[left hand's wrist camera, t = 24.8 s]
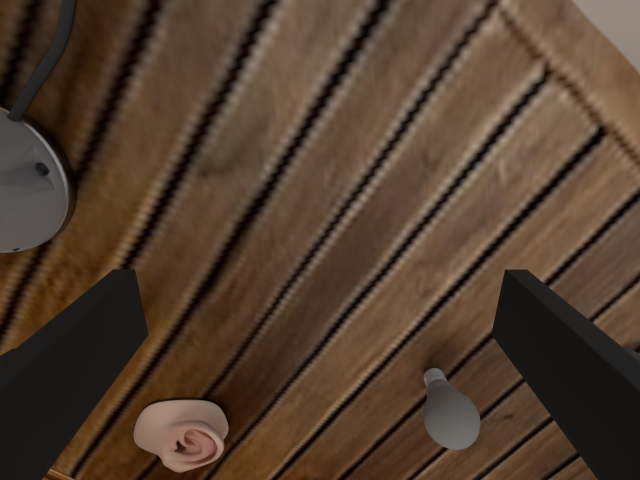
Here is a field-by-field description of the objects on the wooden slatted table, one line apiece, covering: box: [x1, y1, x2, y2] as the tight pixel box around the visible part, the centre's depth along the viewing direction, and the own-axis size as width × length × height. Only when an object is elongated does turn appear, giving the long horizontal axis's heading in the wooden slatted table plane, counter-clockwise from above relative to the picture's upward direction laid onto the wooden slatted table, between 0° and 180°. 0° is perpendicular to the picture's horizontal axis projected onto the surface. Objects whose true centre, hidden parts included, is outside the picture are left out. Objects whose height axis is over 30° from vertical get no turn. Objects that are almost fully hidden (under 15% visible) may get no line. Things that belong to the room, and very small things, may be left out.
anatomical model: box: [134, 400, 228, 472], centre depth 48 cm, size 13×4×12 cm
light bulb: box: [423, 368, 480, 450], centre depth 41 cm, size 6×6×10 cm
